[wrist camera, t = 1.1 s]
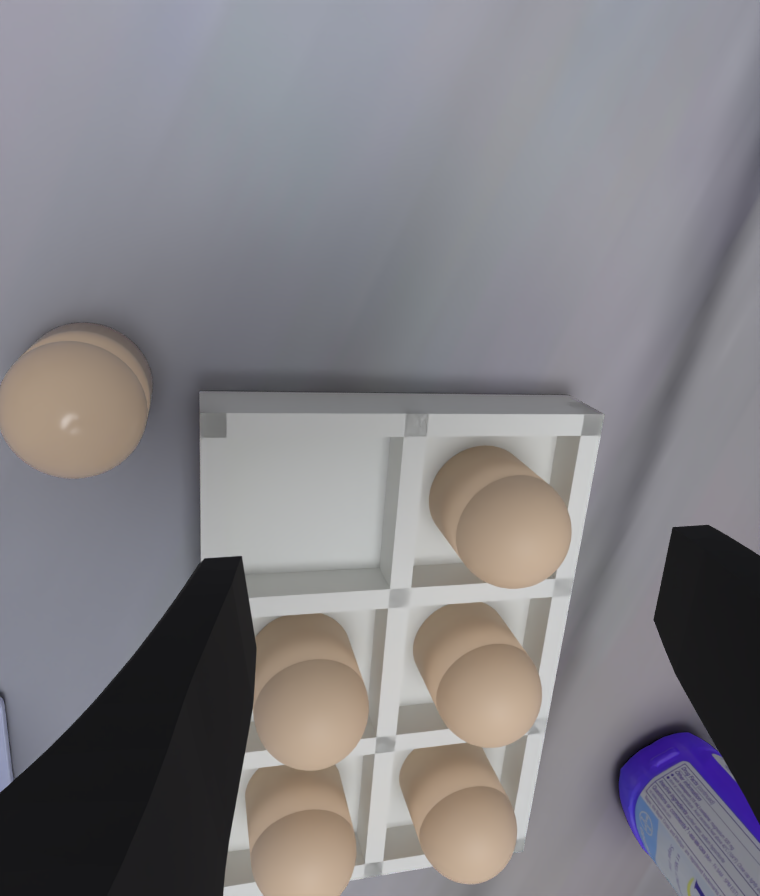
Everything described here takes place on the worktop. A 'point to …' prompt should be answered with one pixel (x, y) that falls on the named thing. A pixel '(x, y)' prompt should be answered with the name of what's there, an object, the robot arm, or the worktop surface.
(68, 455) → the egg
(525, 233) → the worktop surface
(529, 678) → the carton
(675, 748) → the bottle
